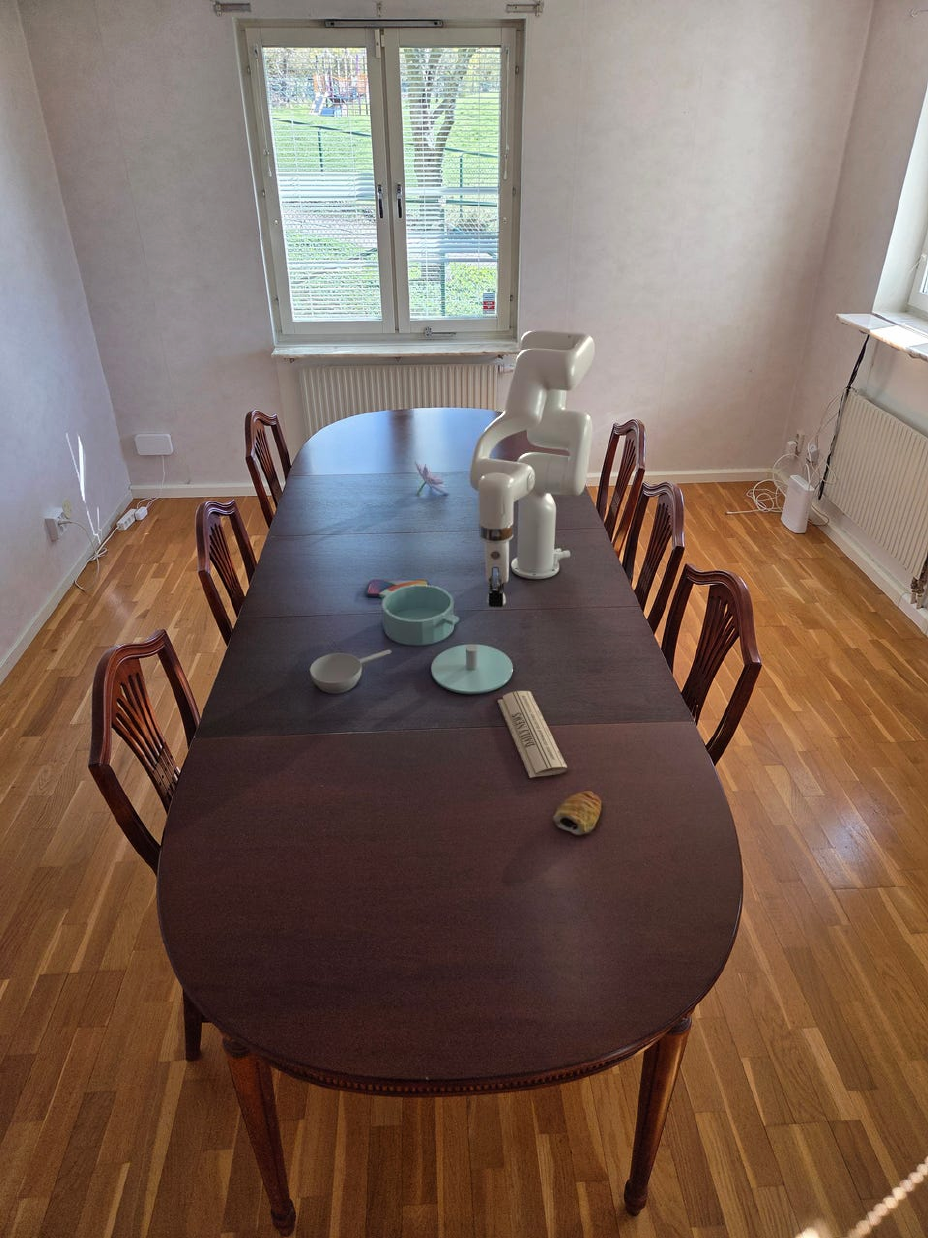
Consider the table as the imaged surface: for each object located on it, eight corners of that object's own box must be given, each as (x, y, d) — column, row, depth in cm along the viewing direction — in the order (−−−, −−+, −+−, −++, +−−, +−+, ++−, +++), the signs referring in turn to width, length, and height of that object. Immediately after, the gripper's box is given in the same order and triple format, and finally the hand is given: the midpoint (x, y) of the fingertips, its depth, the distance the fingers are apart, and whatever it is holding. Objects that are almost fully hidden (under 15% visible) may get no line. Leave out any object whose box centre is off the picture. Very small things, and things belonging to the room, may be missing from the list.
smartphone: (371, 582, 211) (371, 579, 210) (429, 583, 209) (428, 579, 209) (365, 597, 205) (365, 593, 204) (425, 598, 203) (425, 594, 203)
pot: (406, 597, 204) (404, 575, 200) (477, 625, 193) (477, 601, 189) (360, 626, 193) (358, 603, 189) (433, 657, 181) (432, 633, 178)
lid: (463, 640, 187) (463, 617, 184) (528, 666, 178) (529, 642, 175) (414, 677, 175) (413, 653, 172) (481, 706, 166) (481, 682, 163)
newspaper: (567, 772, 149) (567, 764, 148) (530, 778, 148) (530, 771, 147) (530, 696, 169) (530, 689, 168) (497, 701, 168) (497, 694, 167)
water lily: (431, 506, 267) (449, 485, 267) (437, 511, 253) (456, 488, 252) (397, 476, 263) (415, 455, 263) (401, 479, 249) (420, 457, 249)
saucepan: (305, 674, 176) (303, 660, 174) (382, 652, 183) (381, 638, 181) (321, 701, 168) (319, 686, 166) (401, 677, 175) (400, 662, 173)
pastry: (576, 792, 145) (577, 776, 143) (610, 808, 142) (612, 792, 140) (549, 825, 138) (551, 809, 136) (585, 842, 135) (587, 826, 133)
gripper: (512, 548, 171) (512, 620, 181) (513, 512, 185) (513, 581, 195) (476, 547, 172) (478, 620, 182) (480, 512, 186) (481, 581, 196)
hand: (496, 599), depth 188 cm, fingers closed on rook chess piece, 4 cm apart
